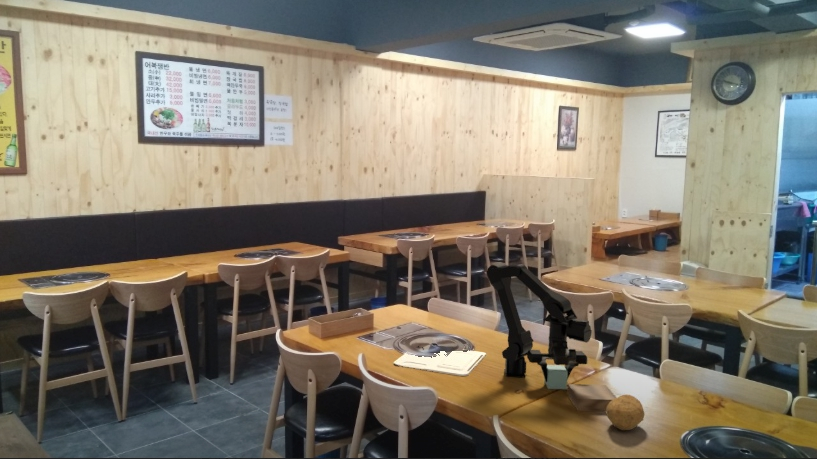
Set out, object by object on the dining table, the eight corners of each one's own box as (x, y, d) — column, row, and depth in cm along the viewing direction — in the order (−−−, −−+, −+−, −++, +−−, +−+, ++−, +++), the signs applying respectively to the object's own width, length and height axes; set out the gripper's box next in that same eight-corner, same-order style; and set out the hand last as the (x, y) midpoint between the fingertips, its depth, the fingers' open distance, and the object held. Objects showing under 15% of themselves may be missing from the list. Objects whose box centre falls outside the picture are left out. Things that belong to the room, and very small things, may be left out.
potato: (598, 431, 163) (599, 403, 162) (613, 414, 175) (614, 388, 174) (634, 441, 158) (636, 412, 157) (648, 423, 169) (649, 396, 168)
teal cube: (548, 388, 194) (549, 370, 194) (544, 382, 200) (545, 364, 200) (566, 389, 194) (567, 371, 194) (562, 382, 200) (563, 365, 200)
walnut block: (577, 411, 177) (578, 398, 177) (567, 396, 189) (568, 384, 189) (617, 412, 177) (618, 399, 177) (605, 397, 189) (605, 385, 189)
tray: (391, 366, 214) (391, 362, 214) (419, 345, 240) (419, 342, 240) (466, 378, 204) (466, 374, 204) (487, 355, 230) (487, 351, 229)
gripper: (534, 342, 188) (532, 390, 189) (593, 344, 187) (590, 391, 189) (527, 332, 199) (525, 377, 200) (583, 334, 198) (581, 379, 200)
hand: (555, 381), depth 197 cm, fingers closed on teal cube, 6 cm apart
